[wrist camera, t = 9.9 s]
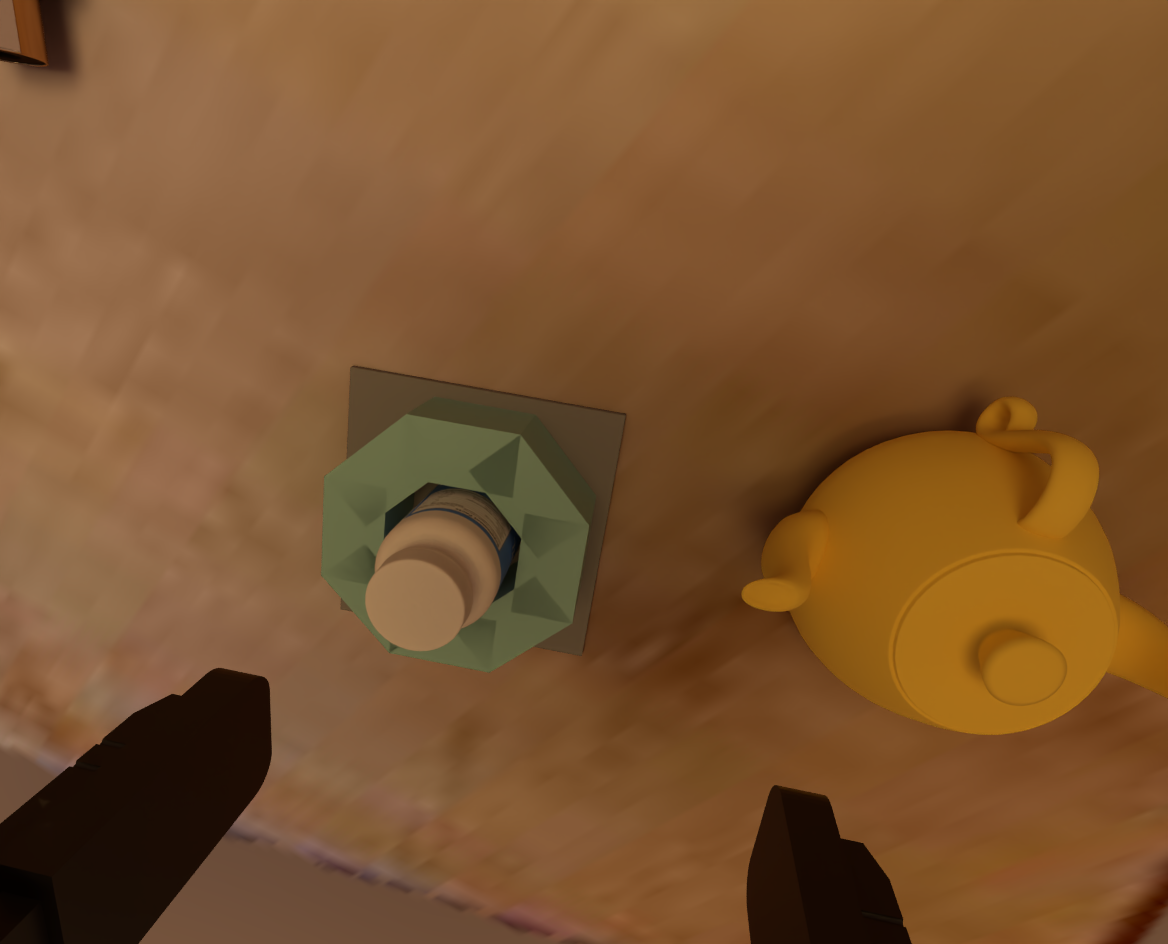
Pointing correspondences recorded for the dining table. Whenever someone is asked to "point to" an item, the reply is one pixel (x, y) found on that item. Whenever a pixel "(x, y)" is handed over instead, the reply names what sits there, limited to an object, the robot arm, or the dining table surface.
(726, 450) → the dining table surface
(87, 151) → the dining table surface
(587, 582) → the felt mat
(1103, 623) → the teapot
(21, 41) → the audio adapter
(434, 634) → the pill bottle
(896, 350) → the dining table surface
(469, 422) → the green faceted planter
